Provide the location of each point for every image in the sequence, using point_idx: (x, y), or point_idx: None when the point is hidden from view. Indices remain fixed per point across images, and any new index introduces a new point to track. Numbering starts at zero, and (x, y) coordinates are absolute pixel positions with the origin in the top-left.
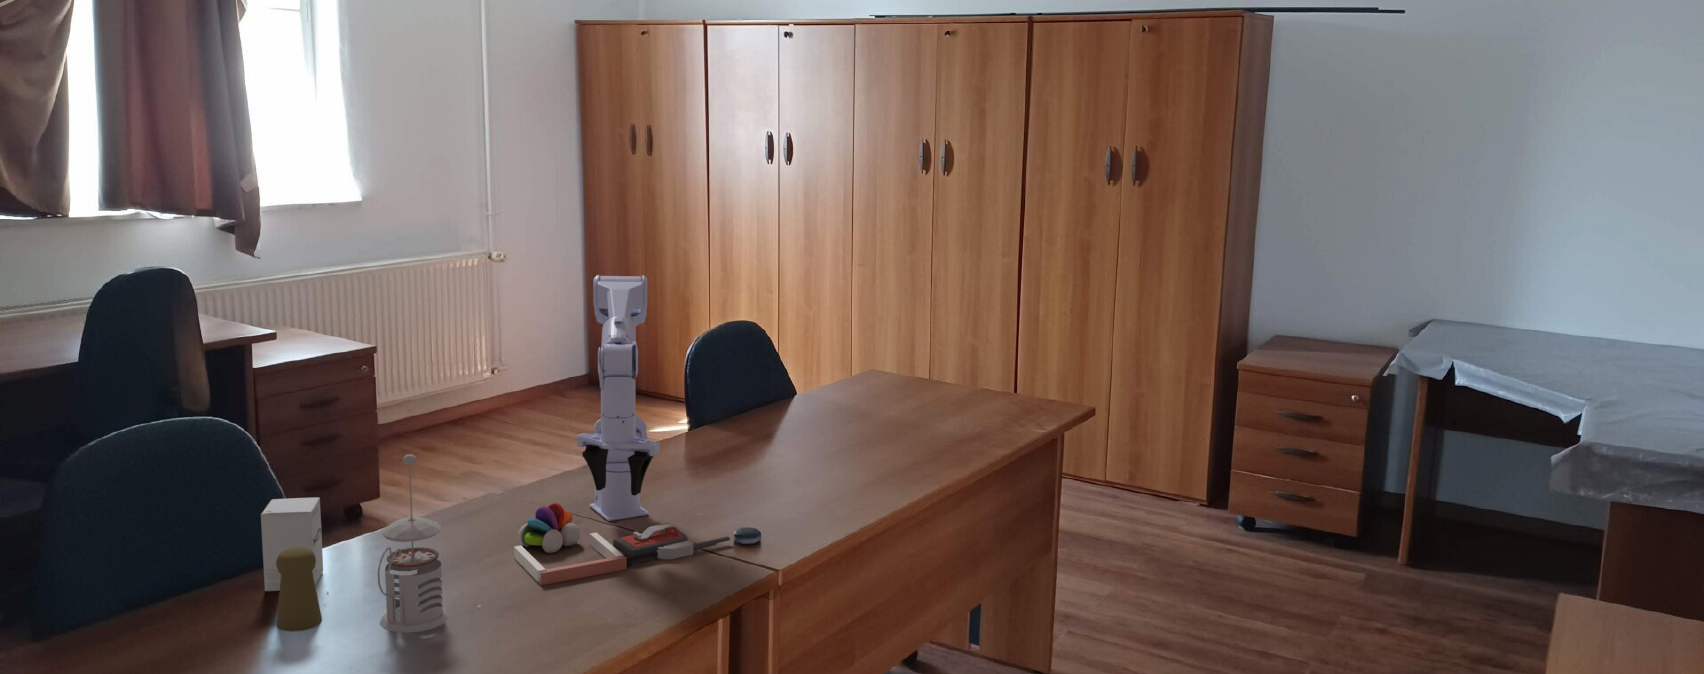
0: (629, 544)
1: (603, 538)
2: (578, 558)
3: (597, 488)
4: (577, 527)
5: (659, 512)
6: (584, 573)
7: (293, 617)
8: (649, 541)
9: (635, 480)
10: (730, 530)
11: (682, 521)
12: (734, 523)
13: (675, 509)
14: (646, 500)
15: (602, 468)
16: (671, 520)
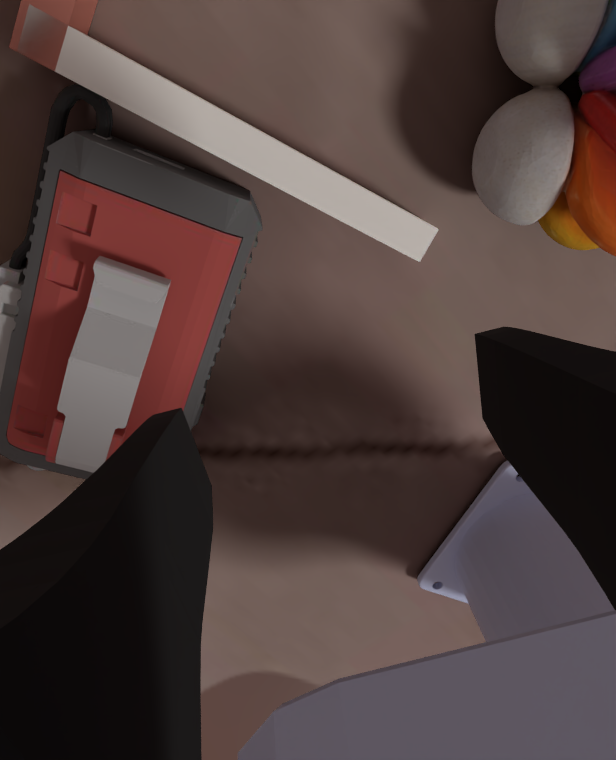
0: (108, 183)
1: (333, 216)
2: (351, 24)
3: (499, 331)
4: (510, 197)
5: (399, 613)
6: None
7: None
8: (60, 285)
9: (85, 484)
10: None
11: (274, 603)
12: None
13: (370, 655)
14: None
15: (580, 494)
16: (313, 589)
